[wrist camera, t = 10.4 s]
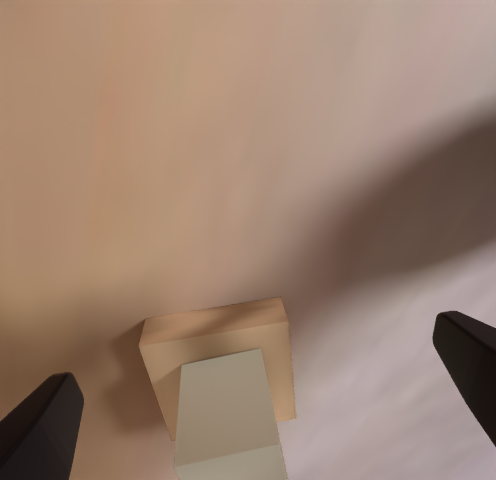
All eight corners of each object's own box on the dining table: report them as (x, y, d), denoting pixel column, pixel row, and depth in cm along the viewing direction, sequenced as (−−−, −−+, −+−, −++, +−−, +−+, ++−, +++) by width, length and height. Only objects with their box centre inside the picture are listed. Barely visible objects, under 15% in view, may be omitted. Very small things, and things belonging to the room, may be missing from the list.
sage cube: (261, 348, 21) (280, 443, 15) (272, 400, 23) (292, 499, 18) (181, 365, 21) (173, 467, 15) (200, 415, 23) (199, 520, 18)
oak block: (278, 292, 23) (288, 321, 20) (287, 384, 27) (296, 418, 24) (146, 314, 22) (138, 346, 20) (175, 404, 26) (171, 441, 24)
